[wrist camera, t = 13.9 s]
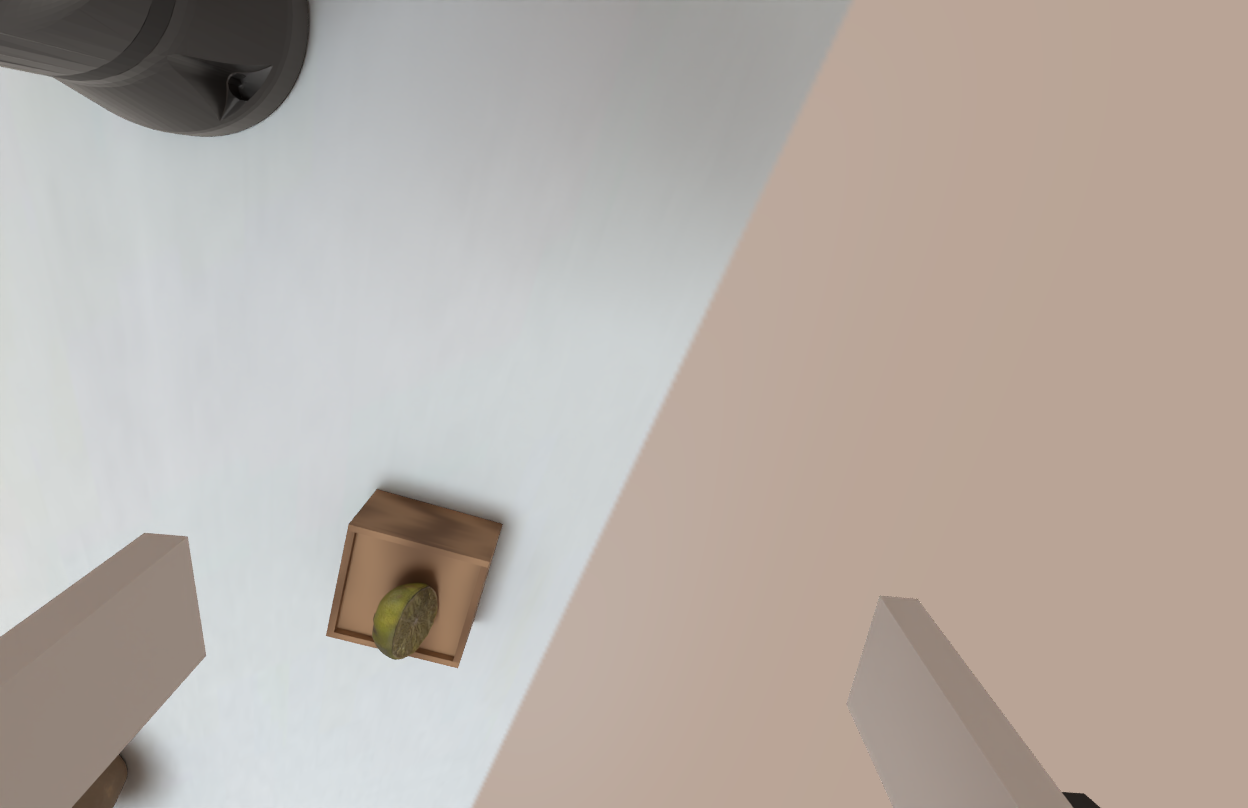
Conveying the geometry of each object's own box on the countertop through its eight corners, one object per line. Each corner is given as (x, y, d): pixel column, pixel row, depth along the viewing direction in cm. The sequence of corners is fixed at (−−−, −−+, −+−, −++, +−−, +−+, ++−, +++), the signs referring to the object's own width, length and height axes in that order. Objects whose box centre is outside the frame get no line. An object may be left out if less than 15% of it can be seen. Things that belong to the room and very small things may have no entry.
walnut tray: (356, 589, 49) (326, 635, 44) (378, 487, 46) (348, 524, 41) (474, 619, 50) (457, 668, 45) (503, 521, 47) (489, 562, 42)
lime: (424, 561, 43) (399, 608, 38) (460, 610, 44) (441, 661, 39) (373, 585, 43) (342, 634, 39) (410, 632, 45) (385, 685, 40)
